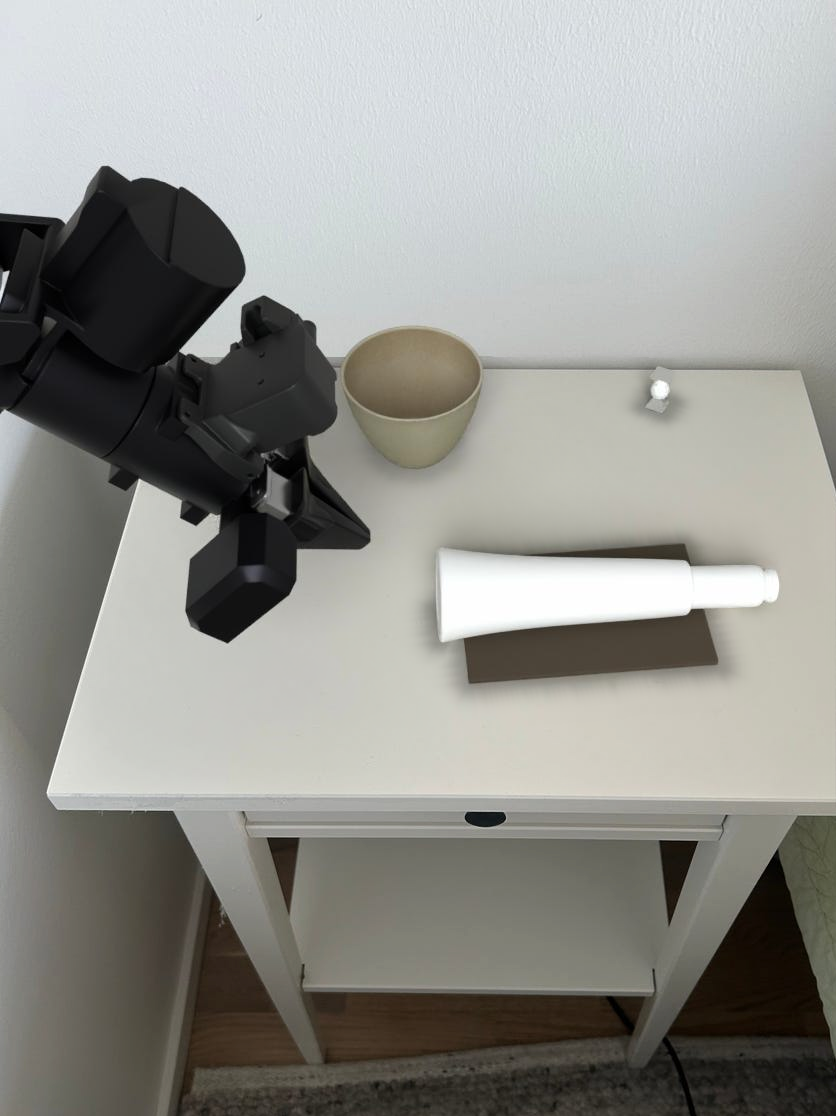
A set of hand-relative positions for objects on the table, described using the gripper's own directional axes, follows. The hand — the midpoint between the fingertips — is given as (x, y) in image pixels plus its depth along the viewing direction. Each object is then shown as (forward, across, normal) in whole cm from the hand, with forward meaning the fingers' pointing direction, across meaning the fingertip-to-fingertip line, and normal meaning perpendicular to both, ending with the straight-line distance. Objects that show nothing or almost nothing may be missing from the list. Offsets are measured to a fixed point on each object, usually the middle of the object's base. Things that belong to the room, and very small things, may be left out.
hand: (366, 540), depth 59 cm
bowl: (+9, +16, +3) cm, 19 cm away
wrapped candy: (+22, +20, -10) cm, 31 cm away
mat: (+16, 0, -4) cm, 16 cm away
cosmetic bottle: (+6, 0, +1) cm, 7 cm away
